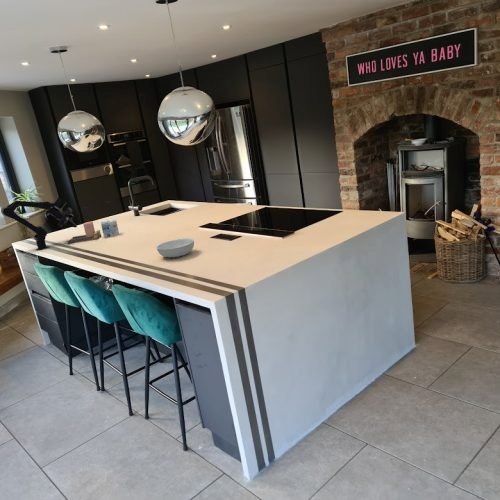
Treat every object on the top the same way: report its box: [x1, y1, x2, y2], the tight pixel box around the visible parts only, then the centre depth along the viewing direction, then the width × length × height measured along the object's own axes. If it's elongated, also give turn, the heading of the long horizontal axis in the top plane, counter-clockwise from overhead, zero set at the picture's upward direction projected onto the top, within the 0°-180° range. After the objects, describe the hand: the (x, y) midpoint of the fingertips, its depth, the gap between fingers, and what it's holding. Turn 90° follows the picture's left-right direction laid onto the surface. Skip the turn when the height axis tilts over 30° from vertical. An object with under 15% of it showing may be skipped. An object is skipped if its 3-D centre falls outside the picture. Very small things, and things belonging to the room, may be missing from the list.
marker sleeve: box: [83, 221, 96, 237], centre depth 339 cm, size 6×5×10 cm
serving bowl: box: [156, 238, 195, 259], centre depth 264 cm, size 21×21×7 cm
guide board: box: [66, 229, 102, 245], centre depth 340 cm, size 11×21×4 cm, turn 93°
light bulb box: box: [100, 219, 120, 239], centre depth 339 cm, size 11×7×11 cm, turn 105°
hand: (76, 227), depth 337 cm, fingers closed
